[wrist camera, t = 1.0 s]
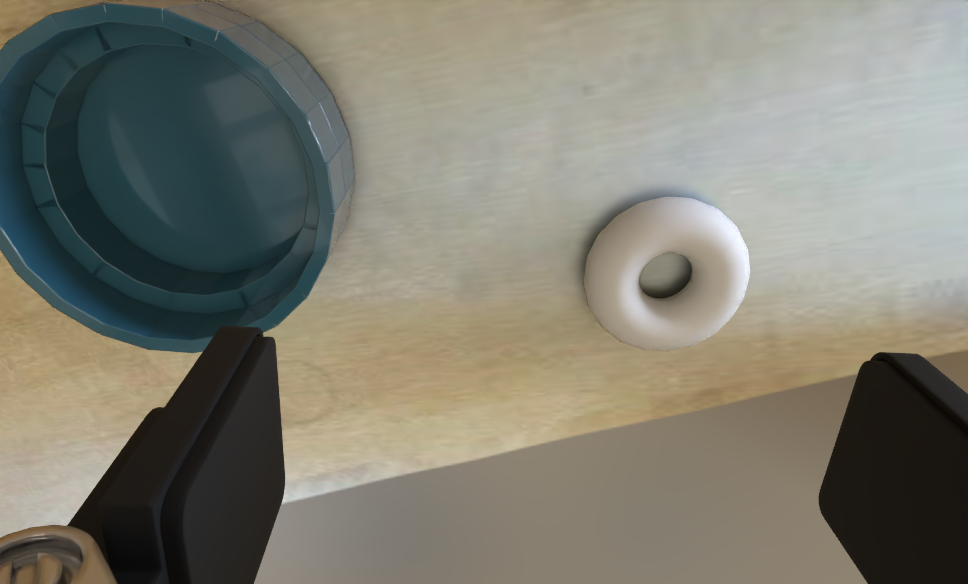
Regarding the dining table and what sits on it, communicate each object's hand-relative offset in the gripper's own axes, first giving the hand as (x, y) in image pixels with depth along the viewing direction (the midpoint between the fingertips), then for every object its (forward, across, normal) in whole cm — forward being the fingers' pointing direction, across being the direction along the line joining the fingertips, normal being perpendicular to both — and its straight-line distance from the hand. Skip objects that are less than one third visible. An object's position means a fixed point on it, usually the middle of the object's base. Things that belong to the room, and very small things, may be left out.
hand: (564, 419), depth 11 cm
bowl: (+31, +17, +4) cm, 36 cm away
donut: (+31, -11, +10) cm, 35 cm away
